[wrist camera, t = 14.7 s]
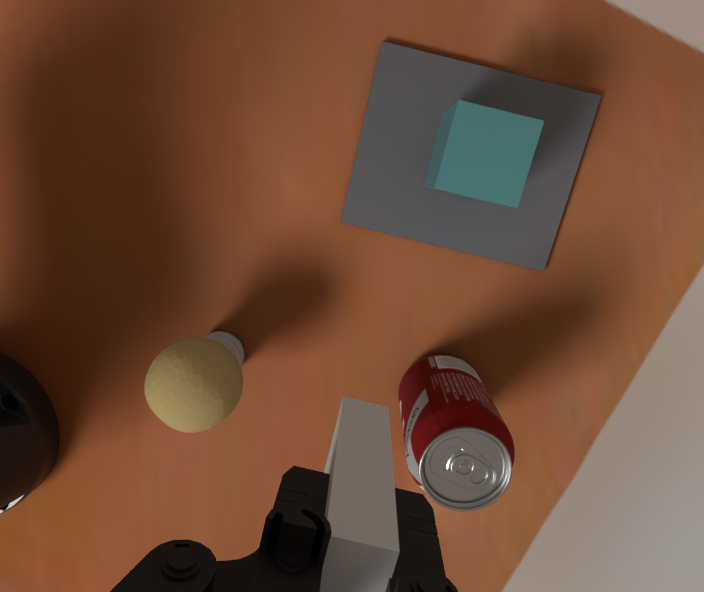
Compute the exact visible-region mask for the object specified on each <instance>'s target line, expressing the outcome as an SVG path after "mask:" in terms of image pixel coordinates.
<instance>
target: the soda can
mask: <svg viewBox="0 0 704 592" xmlns="http://www.w3.org/2000/svg"><path fill="white" fill-rule="evenodd" d="M399 404H400V411H401V419H402V427H403V435H404V443H405V451H406V458H407V464H408V468H409V471H410V473H411V475H412V477H413V479H414V480H415V482H416V483H417V484H418V485H419V486H420V487H421V488H422V489H423V490H424V491H425V492H426V493H427V494H428V496H429V497H430V498H431V499H432V500H433V501H435V502H436V503H437V504H439V505H441V506H443V507H445V508H448V509H451V510H455V511H474V510H478V509H481V508H484V507H486V506H488V505H490V504H492V503H493V502H495V501H496V500H497V499H498V498H499V497H500V496H501V495H502V494H503V493H504V492H505V490H506V489H507V487H508V485H509V482H510V479H511V475H512V466H513V462H514V444H513V440H512V437H511V434H510V432H509V430H508V428H507V426H506V425H505V423H504V421H503V419H502V417H501V416H500V414H499V412H498V410H497V408H496V406H495V405H494V403H493V401H492V399H491V397H490V396H489V394H488V392H487V390H486V388H485V386H484V385H483V383H482V381H481V379H480V377H479V376H478V374H477V372H476V371H475V369H474V368H473V367H472V366H471V365H470V364H469V363H467V362H466V361H464V360H463V359H461V358H458V357H456V356H452V355H447V354H436V355H430V356H427V357H424V358H422V359H420V360H418V361H417V362H415V363H414V364H413V365H412V366H411V367H410V368H409V369H408V370H407V371H406V372H405V374H404V376H403V378H402V380H401V382H400V386H399Z"/></svg>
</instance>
